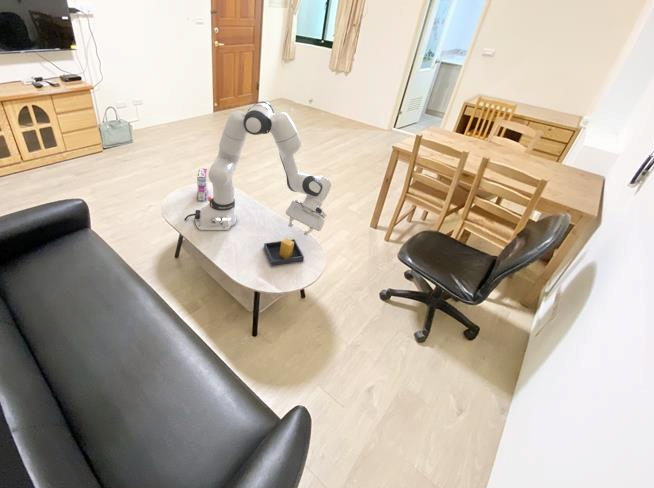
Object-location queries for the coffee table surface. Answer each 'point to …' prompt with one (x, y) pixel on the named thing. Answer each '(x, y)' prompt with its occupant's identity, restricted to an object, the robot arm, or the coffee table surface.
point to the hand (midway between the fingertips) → (297, 230)
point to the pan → (276, 259)
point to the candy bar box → (202, 184)
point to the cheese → (286, 248)
